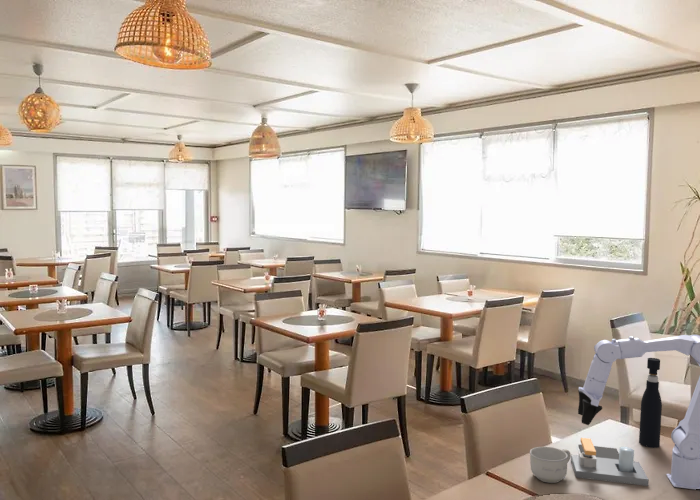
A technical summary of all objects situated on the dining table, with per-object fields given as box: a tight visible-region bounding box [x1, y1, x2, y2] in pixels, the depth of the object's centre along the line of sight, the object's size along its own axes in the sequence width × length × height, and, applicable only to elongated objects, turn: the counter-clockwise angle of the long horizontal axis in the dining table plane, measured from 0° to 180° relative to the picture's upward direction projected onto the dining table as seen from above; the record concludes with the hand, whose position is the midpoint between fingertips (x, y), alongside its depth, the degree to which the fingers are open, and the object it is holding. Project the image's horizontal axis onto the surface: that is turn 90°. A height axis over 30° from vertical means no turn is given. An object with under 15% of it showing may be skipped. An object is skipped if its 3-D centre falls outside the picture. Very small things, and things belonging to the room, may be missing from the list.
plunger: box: [580, 437, 596, 458], centre depth 178 cm, size 3×10×4 cm, turn 166°
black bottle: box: [638, 357, 663, 449], centre depth 198 cm, size 6×6×30 cm
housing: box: [570, 452, 650, 487], centre depth 177 cm, size 20×12×5 cm, turn 76°
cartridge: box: [618, 446, 635, 473], centre depth 175 cm, size 4×4×8 cm
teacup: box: [529, 446, 571, 484], centre depth 173 cm, size 14×11×8 cm
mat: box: [578, 444, 619, 460], centre depth 190 cm, size 12×12×1 cm
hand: (583, 419), depth 177 cm, fingers open, 7 cm apart
